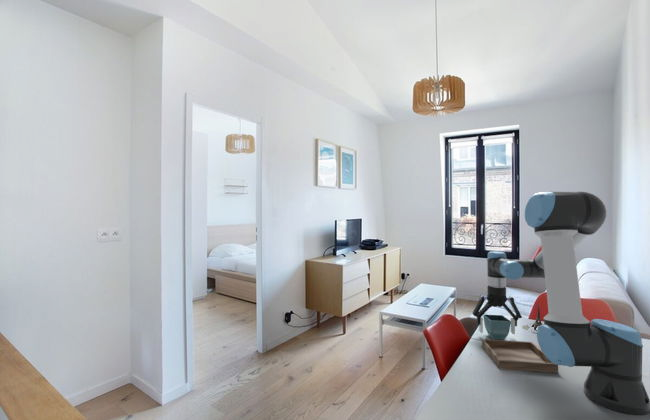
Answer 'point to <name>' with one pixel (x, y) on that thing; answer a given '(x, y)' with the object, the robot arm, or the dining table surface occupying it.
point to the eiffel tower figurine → (535, 322)
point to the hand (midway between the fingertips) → (496, 332)
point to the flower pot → (497, 326)
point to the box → (518, 356)
